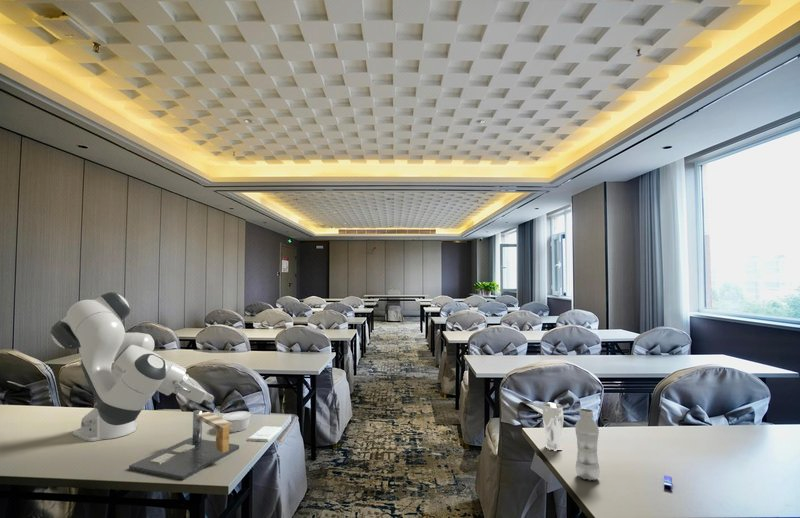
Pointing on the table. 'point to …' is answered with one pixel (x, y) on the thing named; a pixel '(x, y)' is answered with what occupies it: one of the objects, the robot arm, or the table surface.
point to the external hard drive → (265, 434)
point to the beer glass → (553, 425)
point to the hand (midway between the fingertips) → (212, 399)
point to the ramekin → (238, 420)
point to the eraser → (668, 481)
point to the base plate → (183, 456)
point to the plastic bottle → (587, 446)
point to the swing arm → (218, 429)
